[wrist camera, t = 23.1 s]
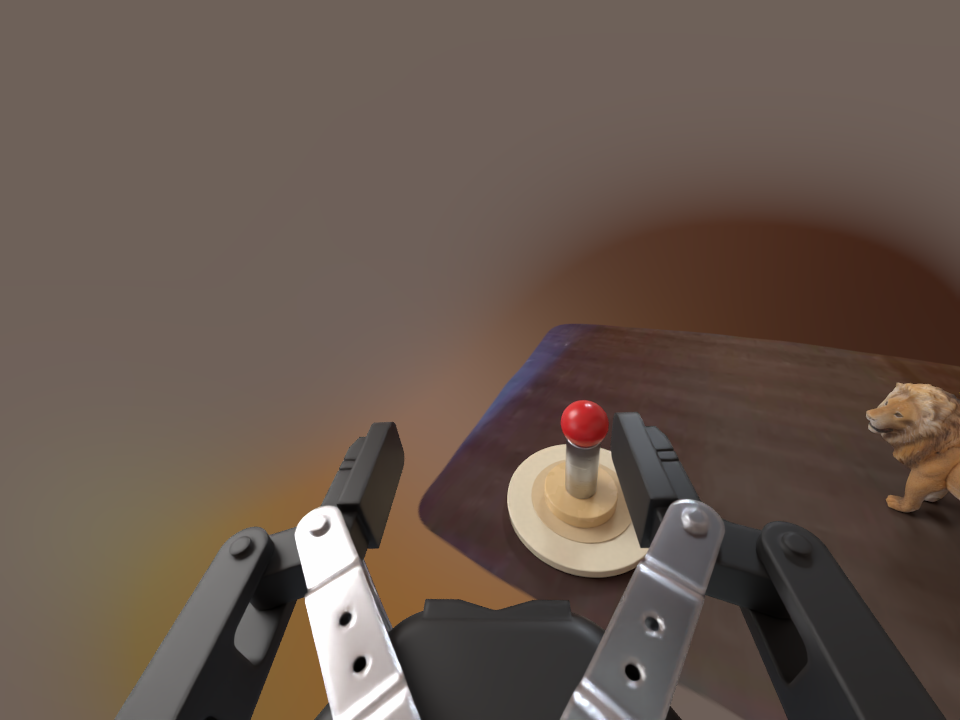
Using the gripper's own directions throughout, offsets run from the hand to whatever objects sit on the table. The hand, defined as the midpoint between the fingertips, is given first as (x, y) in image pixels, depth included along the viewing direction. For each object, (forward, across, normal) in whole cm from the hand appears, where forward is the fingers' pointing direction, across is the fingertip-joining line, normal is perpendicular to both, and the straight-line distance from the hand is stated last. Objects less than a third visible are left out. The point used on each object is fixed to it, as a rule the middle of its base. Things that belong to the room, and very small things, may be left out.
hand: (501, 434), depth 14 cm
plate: (+10, -5, +17) cm, 20 cm away
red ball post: (+10, -5, +16) cm, 20 cm away
